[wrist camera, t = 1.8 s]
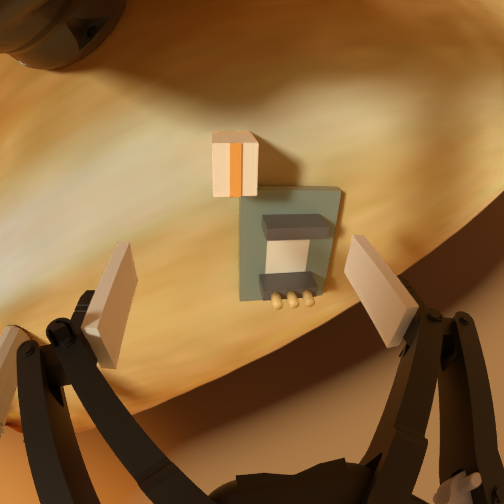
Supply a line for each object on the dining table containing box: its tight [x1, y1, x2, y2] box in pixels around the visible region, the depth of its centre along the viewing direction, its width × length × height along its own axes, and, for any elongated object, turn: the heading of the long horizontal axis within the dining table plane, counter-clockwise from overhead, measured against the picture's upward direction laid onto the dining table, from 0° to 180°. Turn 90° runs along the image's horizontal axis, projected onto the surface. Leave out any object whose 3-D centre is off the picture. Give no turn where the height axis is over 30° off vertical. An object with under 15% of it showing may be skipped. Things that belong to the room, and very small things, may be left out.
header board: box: [239, 186, 341, 310], centre depth 35 cm, size 16×12×7 cm
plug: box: [212, 131, 259, 197], centre depth 28 cm, size 5×4×7 cm
